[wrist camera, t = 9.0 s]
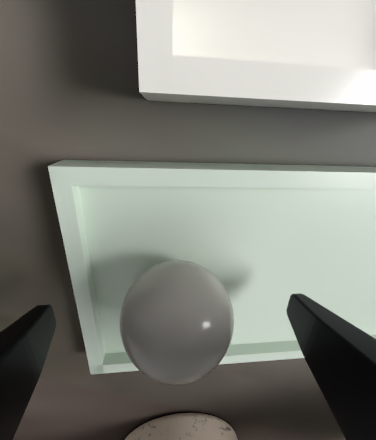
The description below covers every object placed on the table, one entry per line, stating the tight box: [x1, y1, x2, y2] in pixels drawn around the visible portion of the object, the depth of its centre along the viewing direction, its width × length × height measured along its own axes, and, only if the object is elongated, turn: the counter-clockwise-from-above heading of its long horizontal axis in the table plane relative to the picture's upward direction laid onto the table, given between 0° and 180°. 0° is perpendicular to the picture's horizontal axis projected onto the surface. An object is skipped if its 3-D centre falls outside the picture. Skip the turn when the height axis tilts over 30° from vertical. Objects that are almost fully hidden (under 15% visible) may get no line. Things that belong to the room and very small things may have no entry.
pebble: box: [119, 260, 234, 385], centre depth 8 cm, size 4×4×4 cm
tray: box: [48, 160, 376, 374], centre depth 11 cm, size 10×18×1 cm, turn 87°
